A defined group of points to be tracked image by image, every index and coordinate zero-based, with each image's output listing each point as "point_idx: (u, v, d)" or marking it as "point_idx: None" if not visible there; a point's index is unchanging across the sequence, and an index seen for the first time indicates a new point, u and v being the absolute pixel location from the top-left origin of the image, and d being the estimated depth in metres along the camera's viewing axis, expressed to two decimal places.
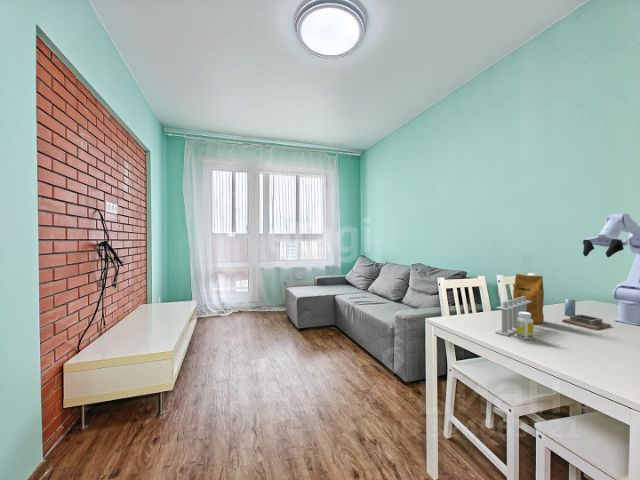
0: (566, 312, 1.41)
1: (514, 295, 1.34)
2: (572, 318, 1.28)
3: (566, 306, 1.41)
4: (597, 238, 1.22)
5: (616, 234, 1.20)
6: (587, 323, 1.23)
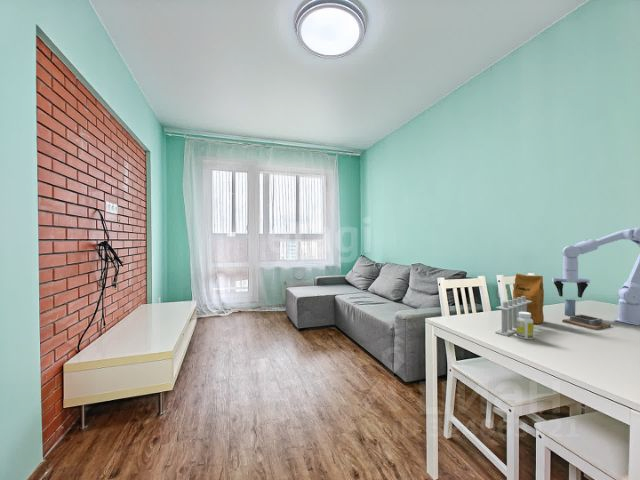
0: (566, 312, 1.41)
1: (514, 295, 1.34)
2: (572, 318, 1.28)
3: (566, 306, 1.41)
4: None
5: (563, 271, 1.42)
6: (587, 323, 1.23)
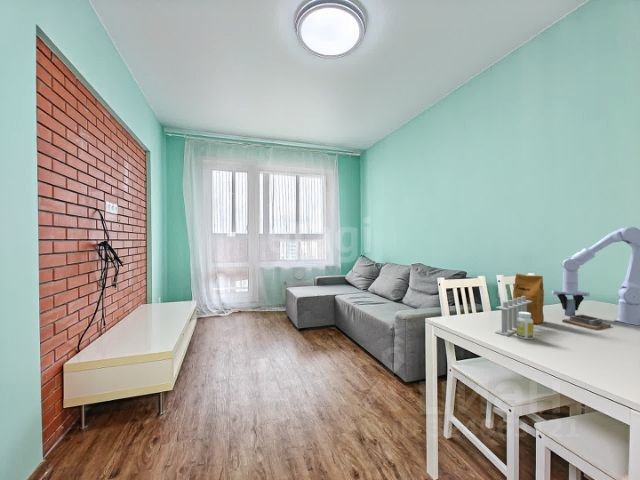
0: (566, 312, 1.41)
1: (514, 295, 1.34)
2: (572, 318, 1.28)
3: (566, 306, 1.41)
4: None
5: None
6: (587, 323, 1.23)
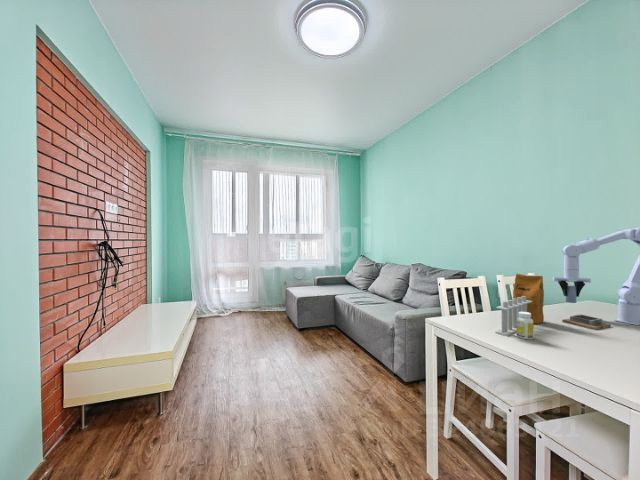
0: (567, 299, 1.40)
1: (514, 295, 1.34)
2: (572, 318, 1.28)
3: (567, 293, 1.40)
4: None
5: None
6: (587, 323, 1.23)
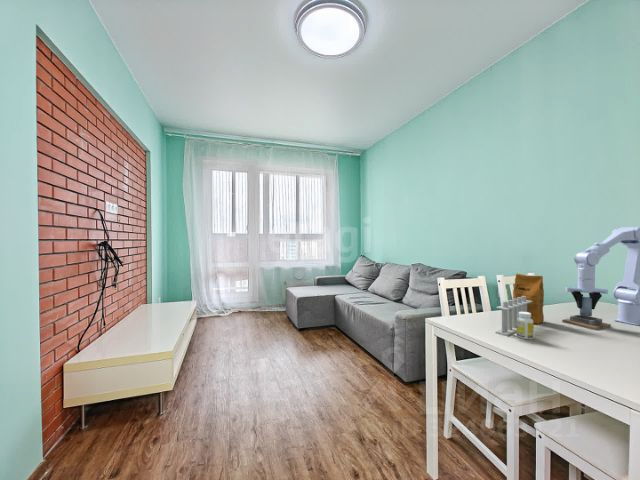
0: (581, 311, 1.27)
1: (514, 295, 1.34)
2: (572, 318, 1.28)
3: None
4: None
5: None
6: (587, 323, 1.23)
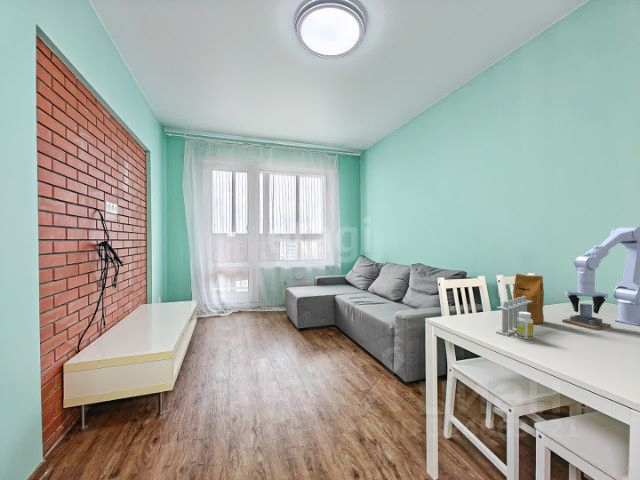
0: None
1: (514, 295, 1.34)
2: (572, 318, 1.28)
3: (581, 312, 1.27)
4: None
5: None
6: (587, 323, 1.23)
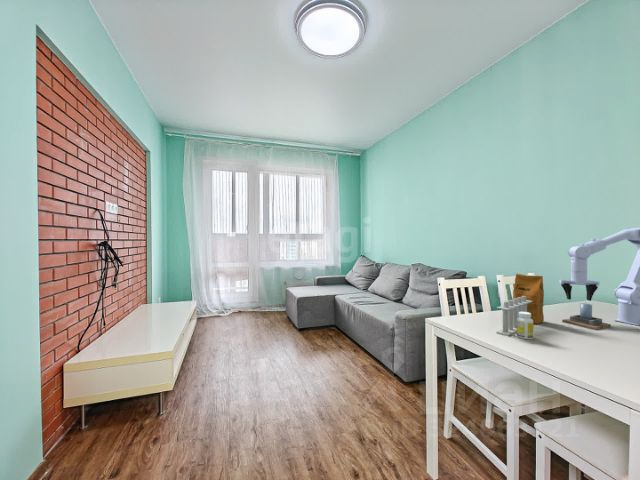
0: None
1: (514, 295, 1.34)
2: (572, 318, 1.28)
3: (582, 312, 1.27)
4: None
5: (571, 273, 1.35)
6: (587, 323, 1.23)
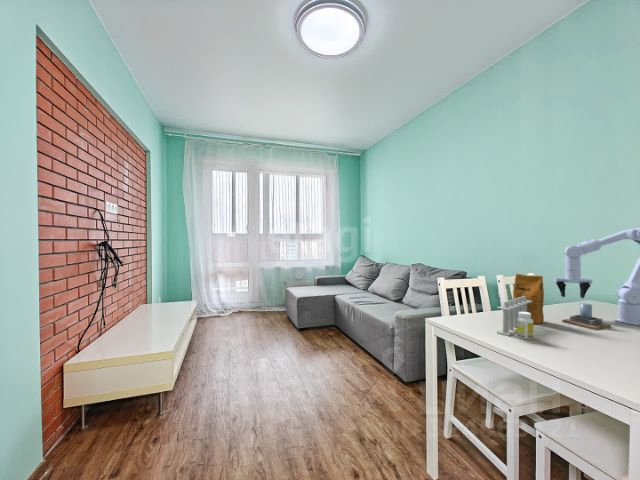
0: None
1: (514, 295, 1.34)
2: (572, 318, 1.28)
3: (581, 312, 1.27)
4: None
5: (565, 271, 1.41)
6: (587, 323, 1.23)
